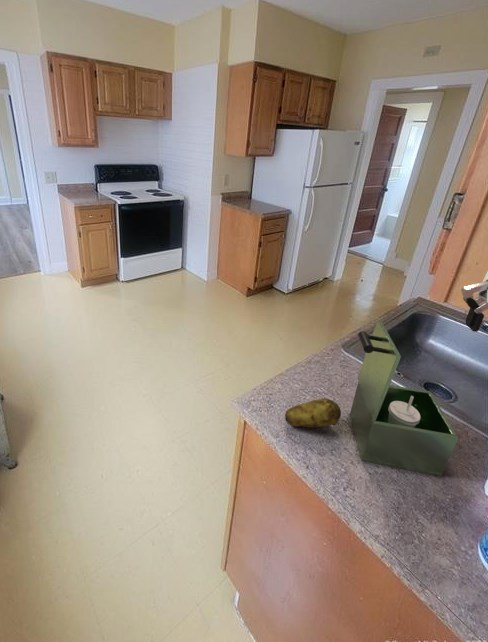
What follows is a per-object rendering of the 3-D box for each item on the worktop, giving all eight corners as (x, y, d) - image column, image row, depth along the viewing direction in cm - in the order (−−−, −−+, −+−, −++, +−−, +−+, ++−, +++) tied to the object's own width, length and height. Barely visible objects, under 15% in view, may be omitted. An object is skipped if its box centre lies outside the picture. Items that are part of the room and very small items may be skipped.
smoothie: (415, 453, 75) (433, 408, 70) (388, 452, 75) (403, 407, 70) (400, 430, 81) (415, 386, 76) (374, 429, 81) (388, 386, 76)
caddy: (417, 426, 83) (430, 391, 79) (441, 476, 71) (458, 438, 66) (349, 414, 86) (358, 380, 82) (361, 460, 74) (372, 422, 70)
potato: (287, 405, 89) (291, 382, 86) (337, 420, 84) (343, 397, 81) (282, 428, 82) (286, 404, 79) (336, 446, 77) (342, 422, 74)
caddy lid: (381, 320, 75) (356, 316, 76) (401, 356, 62) (371, 351, 63) (360, 379, 82) (338, 374, 83) (375, 421, 69) (349, 416, 70)
